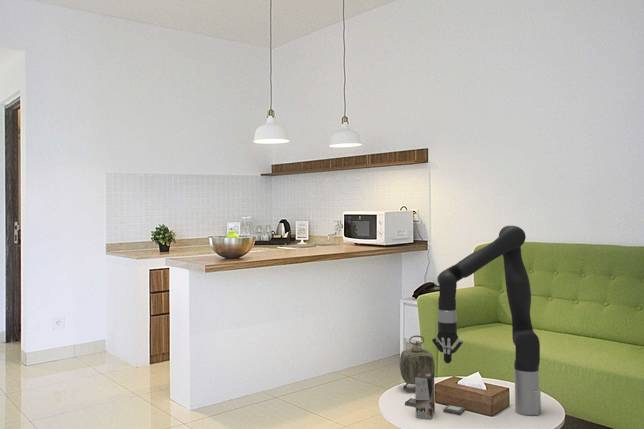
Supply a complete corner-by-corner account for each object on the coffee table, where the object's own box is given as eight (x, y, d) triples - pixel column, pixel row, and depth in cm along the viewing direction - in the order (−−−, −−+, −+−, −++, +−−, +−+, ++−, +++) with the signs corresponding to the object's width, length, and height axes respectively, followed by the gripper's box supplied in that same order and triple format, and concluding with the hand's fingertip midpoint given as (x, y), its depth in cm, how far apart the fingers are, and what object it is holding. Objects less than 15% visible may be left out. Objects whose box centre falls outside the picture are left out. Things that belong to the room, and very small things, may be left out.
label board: (465, 410, 226) (465, 407, 226) (460, 415, 221) (460, 411, 221) (410, 401, 239) (410, 397, 239) (404, 405, 234) (404, 401, 234)
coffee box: (431, 419, 217) (430, 378, 217) (415, 417, 219) (414, 377, 219) (435, 411, 225) (434, 372, 225) (419, 410, 228) (418, 370, 228)
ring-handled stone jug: (431, 386, 258) (429, 333, 258) (436, 392, 249) (435, 337, 249) (400, 387, 257) (399, 334, 257) (404, 394, 248) (403, 338, 248)
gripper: (466, 320, 226) (466, 362, 226) (435, 317, 233) (435, 358, 233) (460, 323, 219) (460, 367, 220) (428, 320, 227) (429, 362, 227)
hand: (447, 362), depth 226 cm, fingers closed
